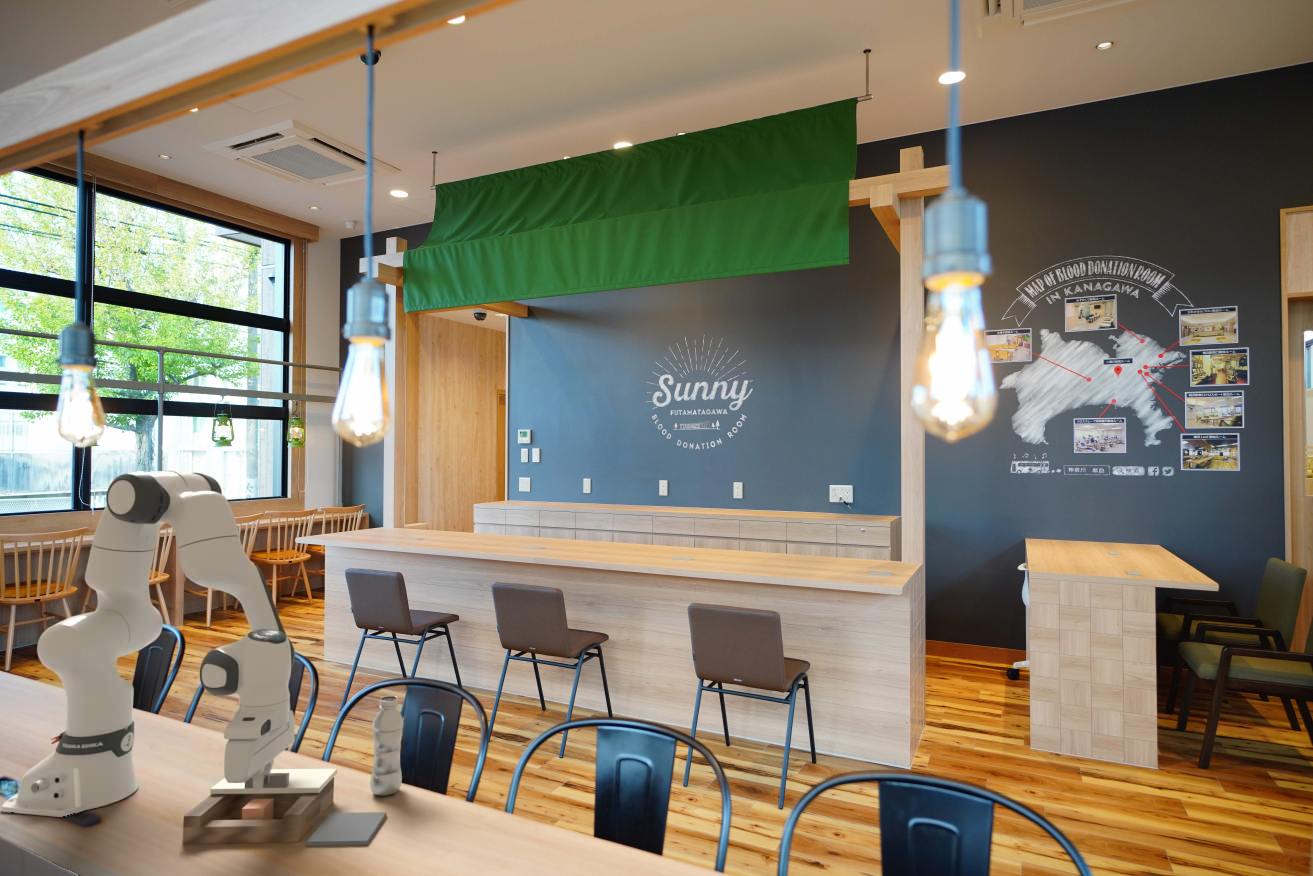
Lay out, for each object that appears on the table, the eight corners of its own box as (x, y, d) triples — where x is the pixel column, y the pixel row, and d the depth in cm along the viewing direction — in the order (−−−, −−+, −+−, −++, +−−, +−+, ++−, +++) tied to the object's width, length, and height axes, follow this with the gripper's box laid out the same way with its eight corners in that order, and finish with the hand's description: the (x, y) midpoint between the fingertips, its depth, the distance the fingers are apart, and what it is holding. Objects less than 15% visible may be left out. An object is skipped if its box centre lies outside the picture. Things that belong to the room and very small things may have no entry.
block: (241, 832, 135) (242, 808, 135) (252, 822, 139) (253, 798, 139) (262, 832, 135) (263, 808, 135) (272, 821, 139) (273, 798, 139)
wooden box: (182, 843, 130) (183, 816, 130) (229, 803, 146) (230, 778, 146) (298, 842, 131) (299, 814, 131) (333, 801, 147) (334, 777, 147)
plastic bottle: (371, 802, 147) (374, 705, 148) (368, 789, 153) (371, 696, 154) (403, 796, 150) (406, 701, 151) (399, 783, 156) (402, 692, 157)
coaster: (306, 846, 130) (306, 841, 130) (330, 816, 141) (330, 812, 141) (367, 845, 130) (367, 840, 131) (386, 816, 141) (386, 812, 141)
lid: (210, 794, 139) (210, 776, 139) (234, 774, 148) (235, 758, 148) (319, 792, 140) (319, 775, 140) (337, 773, 149) (337, 757, 149)
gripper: (273, 697, 149) (270, 764, 148) (218, 733, 129) (214, 810, 128) (304, 697, 149) (301, 764, 149) (253, 733, 129) (250, 810, 128)
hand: (261, 786), depth 138 cm, fingers closed
